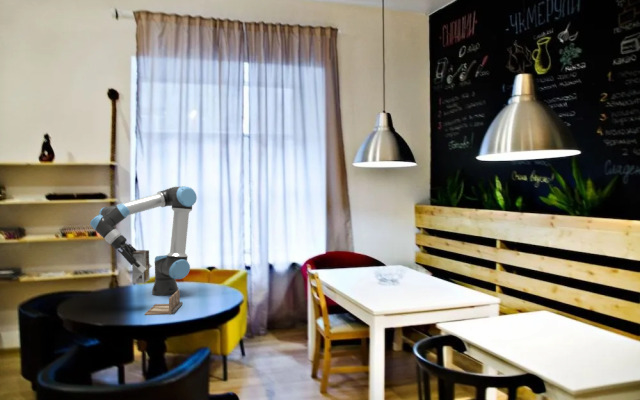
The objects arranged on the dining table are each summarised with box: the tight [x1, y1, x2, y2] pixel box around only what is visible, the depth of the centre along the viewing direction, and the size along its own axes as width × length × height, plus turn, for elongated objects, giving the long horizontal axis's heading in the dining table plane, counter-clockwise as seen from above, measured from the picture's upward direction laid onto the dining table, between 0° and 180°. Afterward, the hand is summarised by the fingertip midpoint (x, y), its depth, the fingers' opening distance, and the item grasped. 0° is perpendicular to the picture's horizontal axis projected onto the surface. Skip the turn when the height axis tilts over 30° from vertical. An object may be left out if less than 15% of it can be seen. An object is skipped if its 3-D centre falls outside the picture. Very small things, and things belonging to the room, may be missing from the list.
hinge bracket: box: [144, 289, 183, 316], centre depth 244 cm, size 20×15×8 cm
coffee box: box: [131, 249, 151, 284], centre depth 247 cm, size 9×6×16 cm
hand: (147, 269), depth 247 cm, fingers closed on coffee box, 9 cm apart
